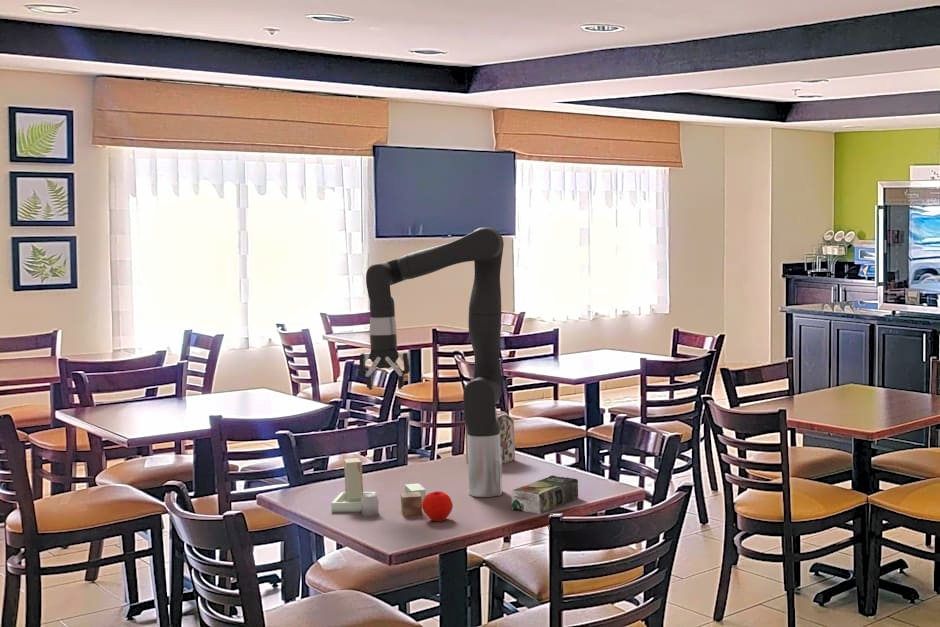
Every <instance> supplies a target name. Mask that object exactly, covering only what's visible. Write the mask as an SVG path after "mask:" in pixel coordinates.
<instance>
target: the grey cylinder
mask: <svg viewBox="0 0 940 627" xmlns="http://www.w3.org/2000/svg"><path fill="white" fill-rule="evenodd" d="M361 502H362V512H361V515H362V516H363V517H374V516H378V515H379V512H380V511H379V495H378V494H377V493H376V494H364V495H362V496H361Z"/></svg>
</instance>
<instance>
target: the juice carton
mask: <svg viewBox="0 0 940 627" xmlns="http://www.w3.org/2000/svg"><path fill="white" fill-rule="evenodd" d="M577 499H579V480H578V479H577V478H573V477H567V476H566V477H564V476H557V475H554V474H552V475H550V476H547V477H545V478H542V479H540V480H536V481H534V482H532V483H528V484H525V485H523V486H520V487H516V488H515V489H512V490H511V510H520V511H523V512H526V513H532V514H537V515H539V514H542V513H544V512H548V511H551V510H552V509H555V508H557V507H560V506H563V505H566V504H568V503H571V502H574V501H575V500H577Z"/></svg>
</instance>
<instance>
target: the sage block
mask: <svg viewBox="0 0 940 627" xmlns="http://www.w3.org/2000/svg"><path fill="white" fill-rule="evenodd" d="M409 492H420V494H421V501H422V502H423V499H424V498H425V496H426V495H427V494H426V489H425V488H424V486H422V485H421V484H420V483H409V484H407V483H406V484H404V493H409Z"/></svg>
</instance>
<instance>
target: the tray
mask: <svg viewBox="0 0 940 627" xmlns="http://www.w3.org/2000/svg"><path fill="white" fill-rule="evenodd" d="M364 494H377V491H363V495H364ZM330 506H331V513H362V502H346V492H345V491H341V492H340V493H339V494H338V495H337V496H336V497H335V498H334V499H333V500H332V501H331V503H330Z"/></svg>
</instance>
